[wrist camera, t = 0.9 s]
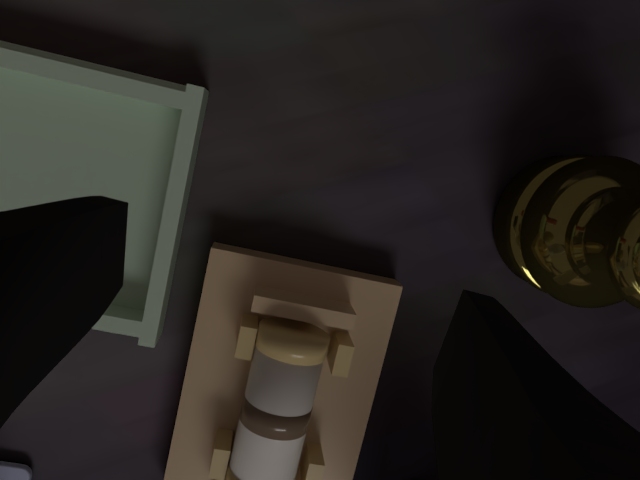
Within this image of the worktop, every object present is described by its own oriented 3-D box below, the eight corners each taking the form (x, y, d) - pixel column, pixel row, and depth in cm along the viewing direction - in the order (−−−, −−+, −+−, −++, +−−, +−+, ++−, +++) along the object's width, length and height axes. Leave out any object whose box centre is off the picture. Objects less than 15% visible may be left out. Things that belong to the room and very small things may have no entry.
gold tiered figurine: (640, 188, 30) (819, 210, 21) (576, 306, 31) (719, 381, 22) (530, 130, 29) (664, 125, 19) (467, 255, 30) (564, 309, 20)
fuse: (294, 474, 29) (289, 516, 26) (231, 459, 29) (217, 499, 26) (330, 327, 28) (329, 351, 25) (264, 312, 28) (254, 333, 25)
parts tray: (162, 332, 29) (154, 348, 27) (-91, 286, 27) (-122, 299, 25) (209, 91, 27) (204, 87, 25) (-61, 26, 25) (-90, 15, 23)
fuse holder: (336, 506, 32) (346, 551, 28) (165, 481, 31) (152, 526, 27) (395, 279, 30) (413, 297, 26) (213, 241, 28) (206, 255, 25)
